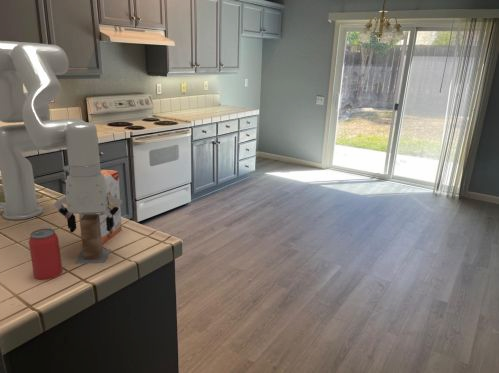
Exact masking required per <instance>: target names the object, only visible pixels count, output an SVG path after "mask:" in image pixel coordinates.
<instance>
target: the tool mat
mask: <svg viewBox="0 0 499 373" xmlns="http://www.w3.org/2000/svg"><path fill="white" fill-rule="evenodd" d="M102 251H103V253H102V255H101V257H100V259H95V260H84V253H83V250H82V251H81V252H80V255H79V256H78V257H77V259H76V260H75V262H74V265H76V264H77V265H79V264H81V265H82V264H105V263H106V262H107V259H108V257H109V255H110V253H111V251H112V249H110V248H109V249H107V248H105V249H104V248H102Z"/></svg>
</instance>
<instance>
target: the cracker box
mask: <svg viewBox="0 0 499 373" xmlns="http://www.w3.org/2000/svg"><path fill="white" fill-rule="evenodd" d="M101 173H103V174H104V177H105V181H106V185H107V189H108V194H109V195H111V196H114V197H116V198H118V199H120V200H121V193H120V192H121V190H120V176H119V171H118V170H111V169H101ZM109 207H110V208H111V209H113V208H114V207H115V203H113V202H111V201H109ZM121 212H122V210H121V207H120V208H119V210H118V211H117V212H116V213H115V214H114V215H113V219H114V227H112V229H111V230H110V231H107V224H106V218H107V215H106V214H105V213H104V212H102V213H78V214H79V215H78V216H79V217H78V218H79V220H80V219H81V218H82V217H83V215H84V214H99V218H100V229H101V240H102V246H103V245H104V244H105V243H107V242H108V241H109V240H111V239H112V238H113V237H114V236H115V235H117V234H118V233H120V231H122V229H123V228H122V213H121ZM79 228H80V230H81V225H80V224H79ZM80 238H81V241H82V234H81V233H80ZM81 246H82V247H83V244H82V243H81Z"/></svg>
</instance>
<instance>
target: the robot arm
mask: <svg viewBox="0 0 499 373" xmlns="http://www.w3.org/2000/svg"><path fill="white" fill-rule="evenodd" d="M69 63H70V62H69V59H68V56H67V54H66V52H65V50H64V49H63V48H62V47H60V46H59V45H56V44H47V43H38V42H28V41H27V42H24V41H23V42H22V41H20V42H19V41H15V40H14V41H13V40H12V41H11V40H0V122H1V123H6V124H8V125H1V126H0V175H1V177H0V178H1V182H2V189H3V194H4V200H5V201H4V202H0V210H3V211H2V217H3V218H4V219H6V220H11V221H12V220H14V221H17V220H19V221H20V220H25V219H32V218H34V217H37V216H39V215H41V214H42V213H43V212H44V208H43V206H41V205H40V204H38V198H37V190H36V187H35V186H36V185H35V179H34V178H35V177H34V173H33V172H34V171H33V170H34V169H33V166H32V163H31V162H30V160H29V159H28V158H26V157H25V156H24V155H23V153H29V152H36V151H42V150H43V151H52V150H59V149H66V152H67V160H68V161H67V162H68V165H63V171H64V172H68V175H67V176H66V182H65V196H64V197H61V198H60V199H58V200H56V201H55V202H54V203H53V204H54V206H55V207H56V209H57V210H58V213H60V214H61V215H62V216H64V218H65V219H66V220H67V221H66V222H67V228H68V229H69V232H70V233H74V232H75V231H76V229H77V222H76V219H77V218H76V215H75V214H79V213H102V212H104V213H105V214H106V215H107V218H106V224H107V231H110V230H111V229H112V227H114V219H113V215H114V214H115V213H116V212H117V211H118V210H119V208H121V206H122V203H123V200H122V199H121V198H120V199H118V198H116V197H114V196H111V195H109V194H108V189H107V185H106V181H105V177H104V174H103V173H101V170H102V169H101V160H100V159H101V158H100V150H99V141H98V130H97V126H96V125H95V123H92V122H86V121H85V120H84V119H81V118H64V119H63V118H61V119H52V120H51V115H50V113H51V112H50V106H49V104H50V103H52V102H53V101H55V100H56V99H57V98H58V97H59V96H60V95H61V94H62V85H61V83H60V82H59V80H58V77H57V75H58V76H59V75H64V74H66V73H67V72H68V70H69V68H70V66H69V65H70V64H69ZM24 88H25V89H26V91H27V92H25V90H24ZM10 123H11V124H10ZM13 123H20V124H13ZM21 123H22V124H21ZM109 201H111V202H113V203H115V207H114V208H113V209H111V208H110V207H109ZM65 203H66V207H65V206H64V204H65Z"/></svg>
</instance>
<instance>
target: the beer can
mask: <svg viewBox="0 0 499 373" xmlns="http://www.w3.org/2000/svg"><path fill="white" fill-rule="evenodd" d="M28 247H29V252H30V260H31V265H32V271H33V272H32V273H33V276H34V278H35V279H37V280H40V281H41V280H42V281H44V280H45V281H46V280H51V279H54V278H56V277H58V276H60V275H61V274H62V272H63V266H62V258H61V249H60V243H59V237H58V235H57V234H56V230H55V229H53V228H46V227H45V228H40V229H36V230H33V231H32V232H31V233H30V234H29V240H28Z"/></svg>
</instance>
